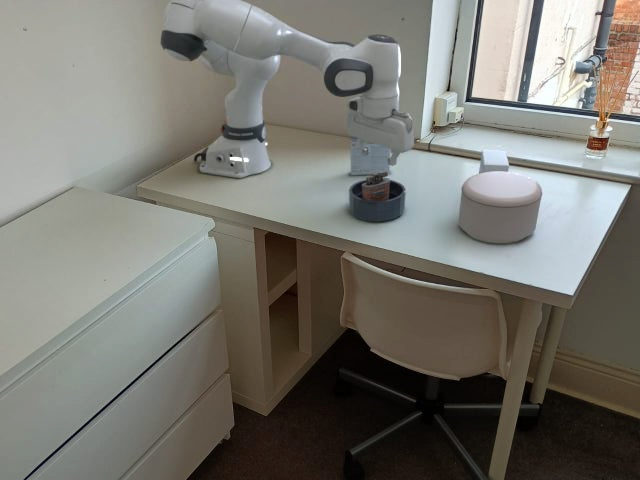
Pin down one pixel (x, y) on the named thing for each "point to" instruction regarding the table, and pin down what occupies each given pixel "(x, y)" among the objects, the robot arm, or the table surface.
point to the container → (499, 206)
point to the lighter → (376, 187)
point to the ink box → (368, 159)
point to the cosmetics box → (493, 161)
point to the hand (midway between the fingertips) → (378, 159)
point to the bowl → (377, 203)
